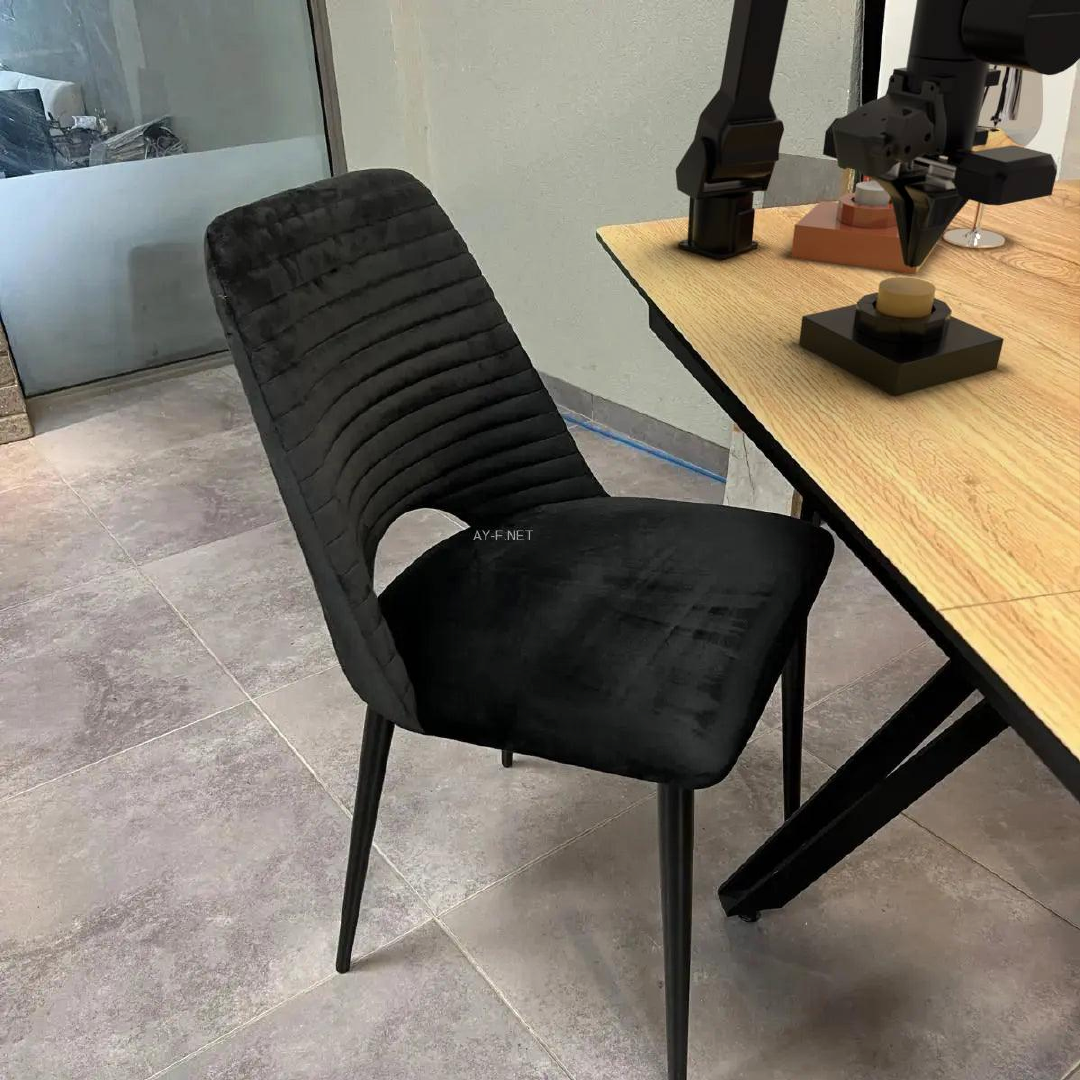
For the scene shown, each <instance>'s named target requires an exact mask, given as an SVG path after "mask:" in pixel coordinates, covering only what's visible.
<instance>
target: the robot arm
mask: <svg viewBox="0 0 1080 1080" xmlns="http://www.w3.org/2000/svg"><path fill="white" fill-rule="evenodd" d="M788 5H789V0H734V3H733V7H732V14H731V19H730V20H731V21H730V25H729V31H728V32H729V33H728V38H727V44H726V50H725V56H724V63H723V68H722V75H721V81H720V86H719V89H718V90H717V91H716V93H715V94H714V96H712V98H711V100H710V101H709V102H708V103H707V105H706V106H705V107H704V109H703V110H702V111H701V113H700V115H699V118H698V122H697V125H696V129H695V133H694V138H693V141H692V142H691V143H690V145H689V147H688V149H687V150H686V152H685V153H684V155H683V157H682V158H681V160H680V162H679V163H678V165H677V166H676V168H675V178H676V189H677V190H678V192H681V193H683V194H684V195H686V196H688V197H689V202H688V203H689V204H688V205H689V206H688V223H687V239H683V240H681V241H678V242H677V248H680V249H683V250H686V251H689V252H693V253H696V254H699V255H702V256H706V257H710V258H713V259H716V260H725V259H728V258H730V257H734V256H736V255H739V254H742V253H744V252H745V253H746V252H748V251H751V250H753V249H754V250H755V249H756V248H758V247H759V241H756V240H753V239H754V229H755V228H754V226H755V215H756V209H755V208H754V195H755V193H756V192H767V191H768V189H769V185H770V182H771V180H772V179H771V178H772V175H773V172H774V168H775V165H776V162H779V160H780V147H781V141H782V138H783V134H784V132H785V125H784V122H783V120H781V119H779V118H778V117H777V114H776V111H775V109H774V106H773V104H772V101H771V91H772V88H773V87H772V86H773V82H774V76H775V72H776V71H775V70H776V65H777V61H778V56H779V51H780V46H781V41H782V35H783V30H784V26H785V21H786V15H787V11H788ZM1078 61H1080V0H916V3H915V10H914V16H913V23H912V29H911V35H910V42H909V48H908V55H907V60H906V66H905V67H899V68H893V72H892V74H891V75H890V76H889V79H888V84H887V89H886V92H885V95H882V96H881V97H879V98H876V99H873V100H870V101H868V102H866V103H864V104H863V105H861V106H860V107H858V108H856V109H855V110H853V111H851V112H850V113H848V114H846V115H845V116H841V117H836V118H835V119H834V120H833V121H832V123H831V124H830V125H829V126H828V127H827V129H826V130H825V132H824V133H825V134H824V142H823V149H822V150H823V151H822V155H824V156H826V157H830V158H832V159H833V158H834V159H836V161H837V166H838V168H840V169H843V170H847V169H849V170H853V171H855V172H859V173H861V174H862V175H863V176H868V177H870V178H871V179H872V180H874V181H876V182H878V183H879V184H880V185H881V187H882V188H883V189H884V190H885V191H886V192H887V193H888V194H889V196H890V198H891V201H892V205H893V209H894V213H895V217H896V223H897V228H898V234H899V240H900V245H901V251H902V257H903V262H904V265H906V266H909V267H911V268H914V267H918V266H920V265H921V264H922V263H923V261H924V260H925V258H926V257H927V256H928V254H929V253H930V251H931V250H932V248H933V247H934V246H935V244H936V245H937V243H938V241H939V240H940V238H941V237H942V236H943V235H944V234H945V232H946V230H947V228H948V227H949V226H950V224H951V223H952V221H953V220H954V219H955V217H956V216H957V215H958V214H959V213H960V211H961V210H962V209H963V208H964V207H965V206H966V205H967V203H968V202H969V201H972V202H977V203H978V202H979V203H983V204H985V206H1004V205H1008V204H1014V203H1019V202H1024V201H1030V200H1035V199H1039V198H1045V197H1050V196H1052V195H1053V191H1054V186H1055V182H1056V179H1057V175H1058V165H1057V163H1056V161H1055V159H1054V157H1053V155H1052V154H1051V153H1047V152H1044V151H1039V150H1035V149H1031V148H1027V147H1024V148H1023V147H1019V146H1015V145H1011V146H1005V147H999V148H993V149H987V150H981V151H972V148H973V146H979V145H985V144H986V143H987V138H988V133H989V130H986V129H982V128H977V127H978V122H979V117H980V112H981V107H982V102H983V97H984V92H985V87H990V86H997V85H998V84H999V79H1000V74H1001V70H996V69H990V68H989V67H990V63H992V64H996V65H1001V66H1006V67H1011V68H1016V69H1020V70H1025V71H1030V72H1035V73H1040V74H1042V75H1045V76H1055V75H1057V74H1060V73H1062V72H1065V71H1067V70H1068V69H1070V68H1071V67H1072V66H1074V65H1075V64H1076V63H1077V62H1078ZM940 156H945V157H948V159H943V158H939V157H940ZM935 247H936V246H935ZM930 254H931V253H930ZM928 257H929V256H928ZM925 261H926V260H925ZM923 264H924V263H923Z"/></svg>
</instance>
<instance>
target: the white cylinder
mask: <svg viewBox="0 0 1080 1080" xmlns="http://www.w3.org/2000/svg"><path fill="white" fill-rule="evenodd" d="M854 193H855V196H854V203H857V204H860V205H868V206H884V205H888V204H889V202H890V196H889V194H888V193H887V192H886V191H885V190H884V189H883V188H882V187H881V185H880V184H879V183H878V182H876V181H865V182H863V181H860V182H858V183H856V184H855V191H854Z"/></svg>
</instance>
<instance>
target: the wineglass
mask: <svg viewBox="0 0 1080 1080" xmlns="http://www.w3.org/2000/svg"><path fill="white" fill-rule="evenodd" d="M989 68H990V69H996V70H1001V74H1000V79H999V84H998V85H997V86H990V87H985V92H984V97H983V102H982V107H981V112H980V117H979V122H978V127H977V128H982V129H986V130H989V133H988V138H987V143H986V144H985V145H979V146H973V148H972V151H981V150H987V149H993V148H999V147H1005V146H1011V145H1015V146H1019V147H1023V148H1027V146H1028V145H1029V144H1030V143H1031V142H1032V141H1033V140H1034V139H1035V137H1036V135H1037V134H1038V133H1039V131H1040V128H1041V126H1042V122H1043V118H1044V117H1043V115H1044V82H1043V80H1044V79H1043V74H1040V73H1035V72H1030V71H1025V70H1020V69H1016V68H1011V67H1006V66H1001V65H996V64H992V63H990V67H989ZM985 207H986V204H983V203H979V202H977V204H976V208H975V213H974V218H973V222H972V224H971V227H970V228H955V229H951V230H947V231H945V232H944V233H943V234H942V237H943V240H944V241H945V242H947V243H949V244H951V245H954V246H959V247H962V248H969V249H994V248H997V247H1000V246H1002V245H1004V244H1005V241H1006V239H1005V237H1004V236H1003V235H1001V234H999V233H996V232H994V231H989V230H984V229H982V223H983V217H984V211H985Z"/></svg>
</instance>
